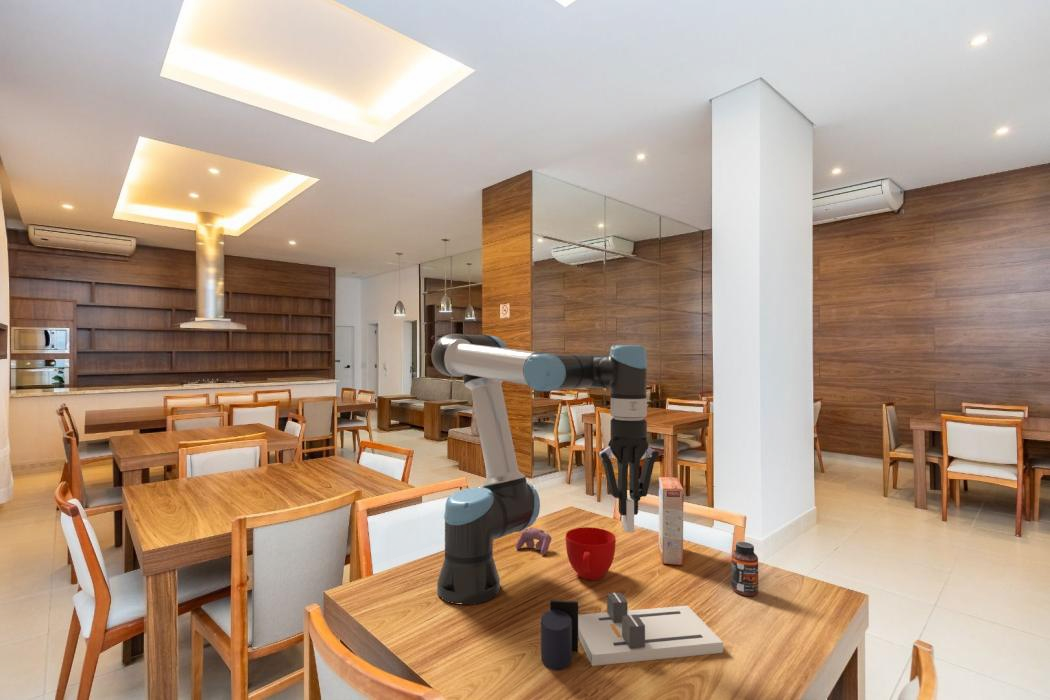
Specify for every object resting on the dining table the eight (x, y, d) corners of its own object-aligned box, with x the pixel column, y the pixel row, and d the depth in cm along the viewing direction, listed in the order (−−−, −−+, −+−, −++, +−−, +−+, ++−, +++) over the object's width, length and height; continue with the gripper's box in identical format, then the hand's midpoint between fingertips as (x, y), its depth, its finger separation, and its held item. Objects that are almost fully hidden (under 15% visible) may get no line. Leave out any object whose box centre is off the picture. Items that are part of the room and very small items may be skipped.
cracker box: (684, 566, 132) (684, 489, 132) (661, 564, 133) (661, 487, 134) (679, 547, 146) (678, 476, 146) (658, 545, 147) (657, 475, 147)
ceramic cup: (559, 589, 119) (559, 548, 119) (569, 561, 135) (569, 525, 135) (613, 596, 116) (613, 553, 116) (617, 566, 132) (616, 529, 132)
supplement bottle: (745, 599, 114) (744, 550, 114) (725, 588, 120) (725, 541, 120) (764, 594, 117) (763, 547, 117) (744, 584, 122) (744, 538, 122)
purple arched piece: (549, 557, 142) (554, 532, 144) (543, 555, 138) (548, 530, 141) (520, 551, 147) (526, 527, 149) (513, 548, 143) (519, 524, 146)
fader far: (613, 622, 100) (613, 602, 100) (607, 612, 104) (607, 593, 104) (627, 621, 100) (627, 601, 100) (620, 611, 104) (620, 592, 104)
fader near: (629, 648, 91) (629, 626, 91) (622, 636, 95) (622, 615, 95) (645, 647, 91) (645, 625, 92) (636, 634, 96) (636, 613, 96)
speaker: (551, 642, 96) (551, 592, 95) (578, 651, 94) (579, 600, 93) (535, 668, 89) (535, 614, 89) (564, 678, 87) (565, 623, 86)
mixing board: (592, 665, 89) (592, 654, 89) (572, 624, 103) (572, 614, 103) (723, 652, 93) (723, 641, 93) (687, 614, 107) (687, 605, 107)
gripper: (604, 420, 99) (604, 538, 98) (665, 419, 101) (665, 534, 100) (593, 416, 106) (593, 525, 106) (650, 415, 108) (650, 522, 108)
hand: (628, 529), depth 103 cm, fingers closed
